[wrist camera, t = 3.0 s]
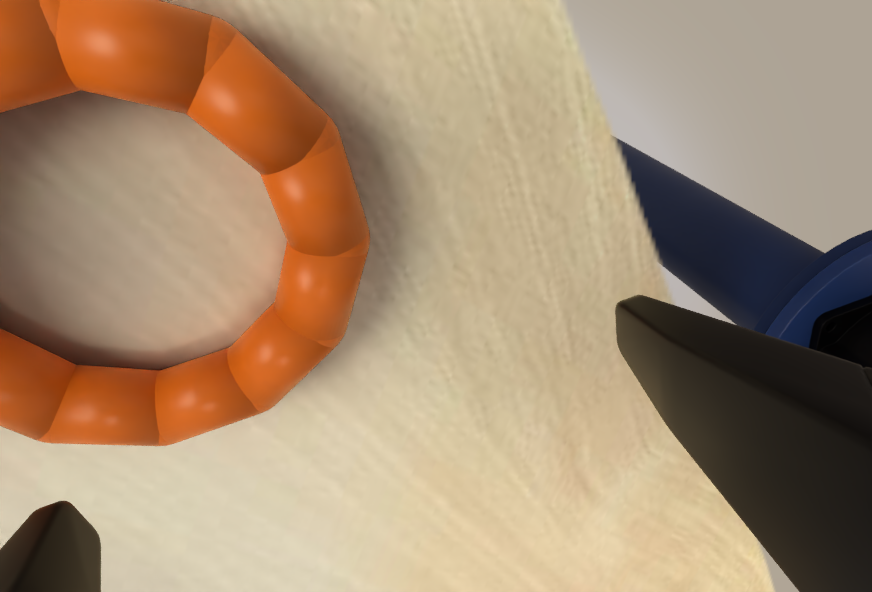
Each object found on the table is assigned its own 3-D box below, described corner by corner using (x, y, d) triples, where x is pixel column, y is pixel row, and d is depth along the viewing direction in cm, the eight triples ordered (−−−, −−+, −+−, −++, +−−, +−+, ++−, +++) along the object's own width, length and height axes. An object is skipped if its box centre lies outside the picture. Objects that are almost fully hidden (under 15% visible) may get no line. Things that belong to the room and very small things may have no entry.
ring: (269, -84, 13) (274, -86, 11) (400, 334, 20) (415, 374, 18) (-324, 67, 12) (-426, 91, 10) (33, 460, 19) (11, 517, 17)
